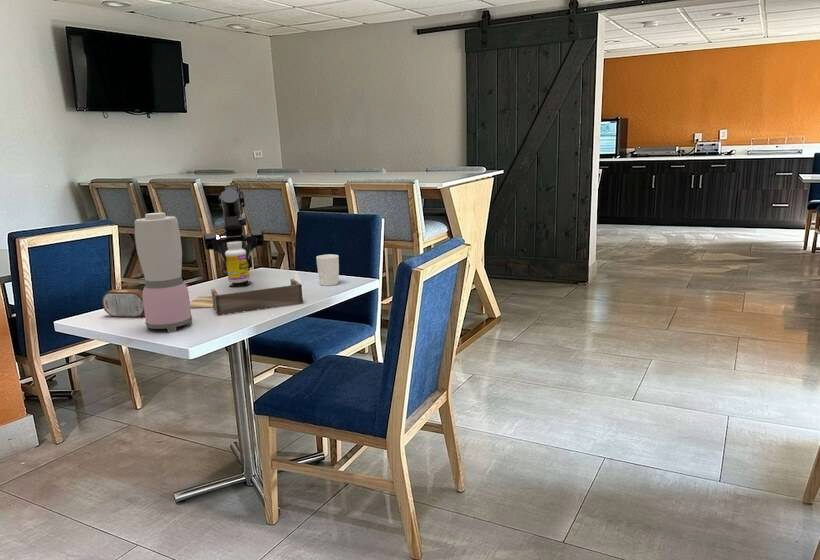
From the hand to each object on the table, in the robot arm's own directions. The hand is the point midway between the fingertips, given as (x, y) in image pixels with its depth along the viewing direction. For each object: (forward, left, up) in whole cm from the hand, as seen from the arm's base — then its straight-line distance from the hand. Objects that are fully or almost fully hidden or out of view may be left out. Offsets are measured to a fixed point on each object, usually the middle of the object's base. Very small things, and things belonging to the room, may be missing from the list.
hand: (236, 260), depth 199 cm
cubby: (+7, +8, -13) cm, 17 cm away
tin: (+15, -30, -14) cm, 36 cm away
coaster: (+1, -9, -13) cm, 16 cm away
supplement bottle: (-1, 0, -7) cm, 7 cm away
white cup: (-21, +26, -14) cm, 36 cm away
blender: (+27, -13, -14) cm, 33 cm away
